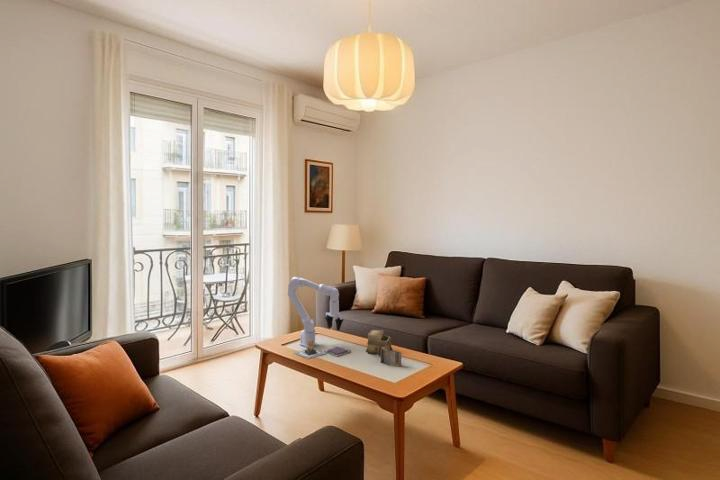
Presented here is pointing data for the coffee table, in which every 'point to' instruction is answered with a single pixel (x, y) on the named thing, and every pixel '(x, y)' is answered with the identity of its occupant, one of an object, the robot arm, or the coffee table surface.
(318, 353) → the marked board
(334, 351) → the ink pad
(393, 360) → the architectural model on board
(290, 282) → the robot arm
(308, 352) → the wooden stamp
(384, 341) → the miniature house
